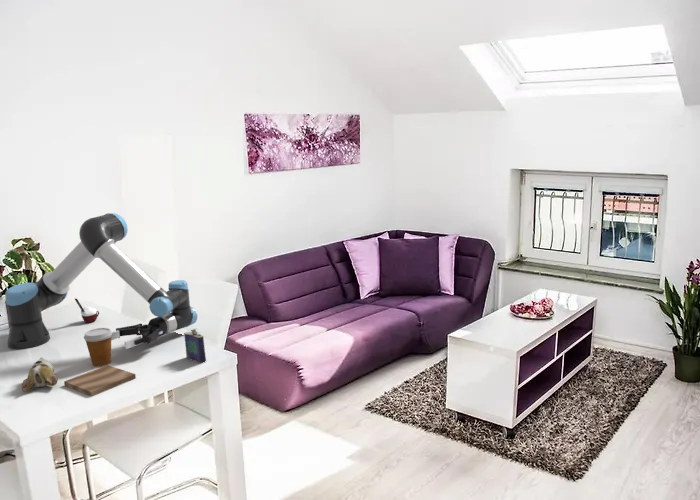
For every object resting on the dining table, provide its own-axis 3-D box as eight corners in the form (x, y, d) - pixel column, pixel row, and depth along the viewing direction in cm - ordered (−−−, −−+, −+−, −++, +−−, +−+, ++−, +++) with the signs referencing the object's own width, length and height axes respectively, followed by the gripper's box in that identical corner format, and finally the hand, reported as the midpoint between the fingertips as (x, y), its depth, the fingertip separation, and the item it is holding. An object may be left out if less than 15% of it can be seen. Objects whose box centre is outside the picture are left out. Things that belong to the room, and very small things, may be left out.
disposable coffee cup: (105, 369, 211) (101, 336, 209) (82, 368, 213) (77, 335, 211) (121, 358, 220) (117, 327, 218) (98, 357, 222) (93, 327, 220)
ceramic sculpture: (57, 350, 206) (54, 367, 193) (61, 373, 209) (58, 392, 195) (23, 355, 203) (17, 374, 189) (27, 379, 205) (21, 399, 192)
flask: (184, 357, 218) (181, 327, 216) (192, 355, 221) (189, 325, 218) (201, 363, 212) (198, 332, 210) (208, 361, 214) (206, 330, 212)
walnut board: (64, 385, 198) (64, 381, 198) (108, 368, 211) (107, 364, 211) (92, 396, 189) (91, 391, 189) (135, 378, 202) (135, 374, 201)
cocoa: (99, 318, 272) (95, 292, 269) (102, 321, 266) (98, 295, 264) (76, 322, 267) (72, 296, 264) (78, 325, 261) (75, 299, 259)
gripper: (183, 339, 230) (136, 358, 213) (143, 329, 244) (96, 346, 227) (181, 321, 228) (134, 338, 212) (141, 312, 243) (93, 327, 226)
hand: (114, 342), depth 219 cm, fingers open, 13 cm apart
